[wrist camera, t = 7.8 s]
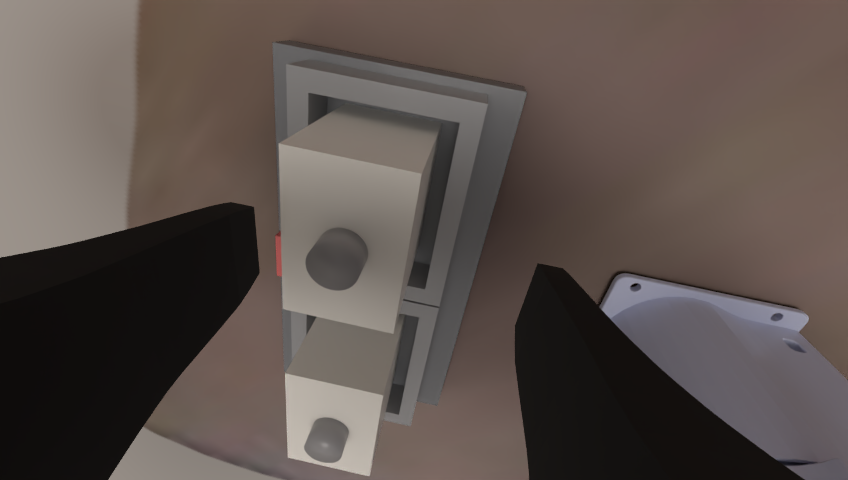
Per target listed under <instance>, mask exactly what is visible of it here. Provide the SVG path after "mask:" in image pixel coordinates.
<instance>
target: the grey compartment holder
mask: <svg viewBox="0 0 848 480" xmlns="http://www.w3.org/2000/svg"><path fill="white" fill-rule="evenodd" d="M273 69H274V97H275V126H276V154H277V183H278V211H279V233H278V234H277V235H276V261H277V276H281V296H282V259H281V219H280V180H279V143H280V142H282V141H284V140H285V139H287V138H289V137H290V136H292V135H294V134H295V133H297V132H299V131H300V130H302V129H304V128H305V127H307V126H309V125H310V124H312V123H314V122H315V121H317V120H319V119H320V118H322V117H324V116H325V115H327V114H329V113H330V112H332V111H334V110H335V109H337V108H339V107H340V106H342V105H344V104H345V103H348V104H353V105H358V106H363V107H367V108H372V109H377V110H382V111H387V112H391V113H396V114H401V115H406V116H411V117H416V118H420V119H425V120H430V121H435V122H440V123H442V126H441V131H440V136H439V141H438V146H437V152H436V157H435V162H434V167H433V172H432V178H431V183H430V188H429V193H428V198H427V204H426V209H425V214H424V219H423V224H422V230H421V235H420V240H419V245H418V249H417V253H416V256H415V260H414V263H413V267H412V270H411V274H410V277H409V281H408V284H407V288H406V291H405V295H404V298H403V302H402V305H401V309H400V312H399V316H398V319H397V323H396V327H395V330H394V334H392V333H387V332H383V331H378V330H374V329H369V328H365V327H360V326H356V325H351V324H347V323H343V322H338V321H334V320H329V319H325V318H320V317H316V316H311V315H307V314H302V313H298V312H294V311H289V310H285V309H283V298H282V324H283V353H284V372H286V373H285V385H286V415H287V445H288V458H293V459H297V460H301V461H306V462H310V463H314V464H318V465H323V466H327V467H331V468H336V469H340V470H344V471H349V472H353V473H357V474H362V475H366V476H370V473H371V469H372V465H373V461H374V456H375V452H376V448H377V444H378V440H379V436H380V432H381V428H382V424H383V420H385V421H389V422H394V423H398V424H403V425H407V426H411V422H412V418H413V414H414V410H415V405H416V401H418V402H422V403H427V404H431V405H436V406H437V405H438V401H439V398H440V394H441V391H442V388H443V384H444V381H445V377H446V374H447V370H448V367H449V363H450V360H451V356H452V353H453V349H454V346H455V342H456V339H457V335H458V332H459V328H460V325H461V321H462V318H463V314H464V311H465V307H466V304H467V300H468V297H469V293H470V290H471V286H472V283H473V279H474V276H475V272H476V269H477V266H478V262H479V259H480V255H481V252H482V248H483V245H484V241H485V238H486V234H487V231H488V227H489V224H490V220H491V217H492V213H493V210H494V206H495V203H496V199H497V196H498V192H499V189H500V185H501V182H502V178H503V175H504V171H505V168H506V164H507V161H508V157H509V154H510V151H511V147H512V144H513V140H514V137H515V133H516V130H517V126H518V123H519V119H520V116H521V112H522V109H523V105H524V102H525V98H526V95H527V91H526V89H525V88H524V86H519V85H514V84H509V83H504V82H499V81H493V80H488V79H483V78H478V77H473V76H468V75H463V74H458V73H453V72H448V71H443V70H437V69H432V68H427V67H422V66H417V65H412V64H407V63H402V62H397V61H392V60H386V59H381V58H376V57H371V56H366V55H361V54H356V53H351V52H346V51H341V50H335V49H330V48H325V47H320V46H315V45H310V44H305V43H300V42H295V41H290V40H289V41H279V42H273Z"/></svg>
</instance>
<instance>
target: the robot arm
mask: <svg viewBox="0 0 848 480" xmlns="http://www.w3.org/2000/svg"><path fill="white" fill-rule="evenodd" d="M259 273H260V272H259V261H258V249H257V238H256V226H255V214H254V207H252V206H247V205H242V204H237V203H232V202H230V203H223V204H218V205H214V206H210V207H206V208H202V209H198V210H195V211H191V212H187V213H184V214H180V215H177V216H173V217H170V218H166V219H163V220H160V221H156V222H153V223H149V224H146V225H142V226H138V227H135V228H131V229H127V230H124V231H119V232H115V233H112V234H108V235H104V236H100V237H96V238H92V239H88V240H85V241H81V242H76V243H72V244H68V245H63V246H58V247H53V248H49V249H44V250H38V251H33V252H28V253H23V254H18V255H13V256H7V257H1V258H0V480H108V479H109V477H110V476H111V474H112V473H113V471H114V470H115V468H116V467H117V465H118V464H119V462H120V460H121V459H122V457H123V456H124V454H125V453H126V451H127V450H128V448H129V447H130V445H131V444H132V442H133V441H134V439H135V438H136V436H137V434H138V433H139V431H140V430H141V429H142V427H143V426H144V424H145V423H146V421H147V420H148V418H149V417H150V416H151V414H152V413H153V411H154V410H155V408H156V407H157V405H158V404H159V403H160V401H161V400H162V398H163V397H164V395H165V394H166V393H167V391H168V390H169V389H170V387H171V386H172V385H173V384H174V382H175V381H176V380H177V378H178V377H179V376H180V375H181V374H182V372H183V371H184V370H185V369H186V368H187V366H188V365H189V364H190V363H191V362H192V361H193V359H194V358H195V357H196V356H197V355H198V354H199V352H200V351H201V350H202V349H203V348H204V347H205V345H206V344H207V343H208V342H209V341H210V340H211V338H212V337H213V336H214V335H215V334H216V333H217V331H218V330H219V329H220V328H221V327H222V325H223V324H224V323H225V322H226V321H227V319H228V318H229V317H230V316H231V315H232V313H233V312H234V311H235V310H236V309H237V307H238V306H239V305H240V304H241V302H242V300H243V299H244V297H245V296H246V294H247V293H248V291H249V290H250V288H251V286H252V285H253V283H254V281H255V280H256V278H257V276H258V275H259ZM634 283H638V285H637V286H635V287H630V286H631V285H632V284H634ZM776 313H777V314H776ZM773 314H775V315H773ZM772 315H773V316H772ZM808 320H809V317H808V316H807V314H805V313H804V312H803V311H802V310H799V309H795V308H790V307H785V306H781V305H776V304H771V303H766V302H762V301H757V300H752V299H747V298H742V297H738V296H733V295H728V294H723V293H719V292H714V291H709V290H704V289H700V288H695V287H690V286H685V285H681V284H676V283H671V282H666V281H662V280H657V279H652V278H647V277H642V276H638V275H633V274H628V273H622V274H619V275H617V276H616V277H615V278H614V280H613V281H612V283H611V285H610V287H609V289H608V291H607V293H606V295H605V297H604V299H603V301H602V303H601V304H600V306H598V305H597V304H596V303H595V302H594V301H593V300H592V299H591V298H590V296H589V295H588V294H587V293H586V292H585V291H584V290H583V289H582V288H581V287H580V285H579V284H578V283H577V282H576V281H575V280H574V279H573V278H572V277H571V276H570V275H569V274H568V273H567V272H566V271H565V270H564V269H563V268H558V267H553V266H548V265H543V264H537V267H536V270H535V273H534V275H533V278H532V281H531V284H530V286H529V289H528V292H527V295H526V297H525V300H524V303H523V306H522V308H521V311H520V314H519V317H518V319H517V322H516V325H515V365H516V373H517V381H518V389H519V396H520V404H521V411H522V418H523V426H524V433H525V440H526V448H527V457H528V468H529V480H848V380H847V379H846V378H845V377H844V376H843V375H842V374H841V373H840V372H839V371H838V370H837V369H836V368H835V367H834V366H833V365H832V364H831V363H830V362H829V361H828V360H827V359H826V358H825V357H824V356H823V355H822V354H821V353H820V352H819V351H817V350H816V349H815V348H814V347H813V346H812V345H811V344H810V343H809V342H808V341H807V340H806V339H805V338H804V337H803V336H802V335H801V334H800V333H799V331H800V330H801V329H802V328H803V327H804V326H805V325H806V324H807V322H808Z"/></svg>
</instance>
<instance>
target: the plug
mask: <svg viewBox="0 0 848 480" xmlns="http://www.w3.org/2000/svg"><path fill="white" fill-rule="evenodd" d="M441 126H442V123H440V122H435V121H430V120H425V119H420V118H416V117H411V116H406V115H401V114H396V113H391V112H387V111H382V110H377V109H372V108H367V107H363V106H358V105H353V104H348V103H345V104H344V105H342V106H340V107H339V108H337V109H335V110H334V111H332V112H330V113H329V114H327V115H325V116H324V117H322V118H320V119H319V120H317V121H315V122H314V123H312V124H310V125H309V126H307V127H305V128H304V129H302V130H300V131H299V132H297V133H295V134H294V135H292V136H290V137H289V138H287V139H285V140H284V141H282V142H280V143H279V180H280V219H281V259H282V298H283V309H285V310H289V311H294V312H298V313H302V314H307V315H311V316H316V317H320V318H325V319H329V320H334V321H338V322H343V323H347V324H351V325H356V326H360V327H365V328H369V329H374V330H378V331H383V332H387V333H392V334H394V330H395V327H396V323H397V319H398V316H399V312H400V309H401V305H402V302H403V298H404V295H405V291H406V288H407V284H408V281H409V277H410V274H411V270H412V267H413V263H414V260H415V256H416V253H417V249H418V245H419V240H420V235H421V230H422V224H423V219H424V214H425V209H426V204H427V198H428V193H429V188H430V183H431V178H432V172H433V167H434V162H435V157H436V152H437V146H438V141H439V136H440V131H441Z"/></svg>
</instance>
